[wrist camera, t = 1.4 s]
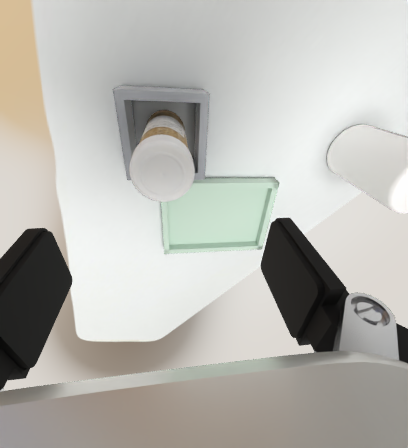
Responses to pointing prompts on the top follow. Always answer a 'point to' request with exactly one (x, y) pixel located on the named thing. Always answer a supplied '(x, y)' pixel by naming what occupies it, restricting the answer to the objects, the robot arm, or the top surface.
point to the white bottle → (373, 163)
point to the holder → (198, 96)
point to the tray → (219, 215)
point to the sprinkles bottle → (162, 159)
